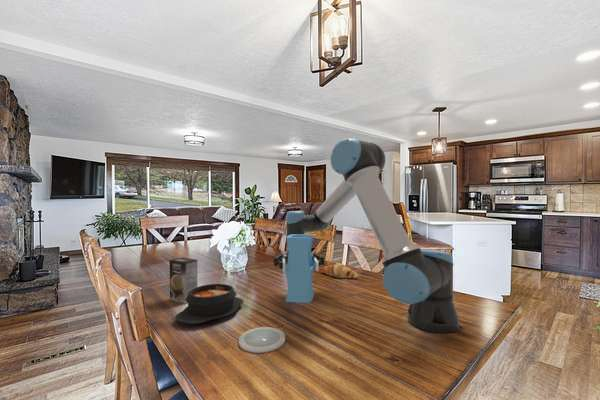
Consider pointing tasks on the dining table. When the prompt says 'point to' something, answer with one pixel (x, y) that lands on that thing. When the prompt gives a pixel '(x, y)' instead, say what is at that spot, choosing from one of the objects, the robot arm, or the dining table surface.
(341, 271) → the croissant
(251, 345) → the plate
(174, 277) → the coffee box
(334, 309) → the dining table surface
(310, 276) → the vase
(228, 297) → the casserole
